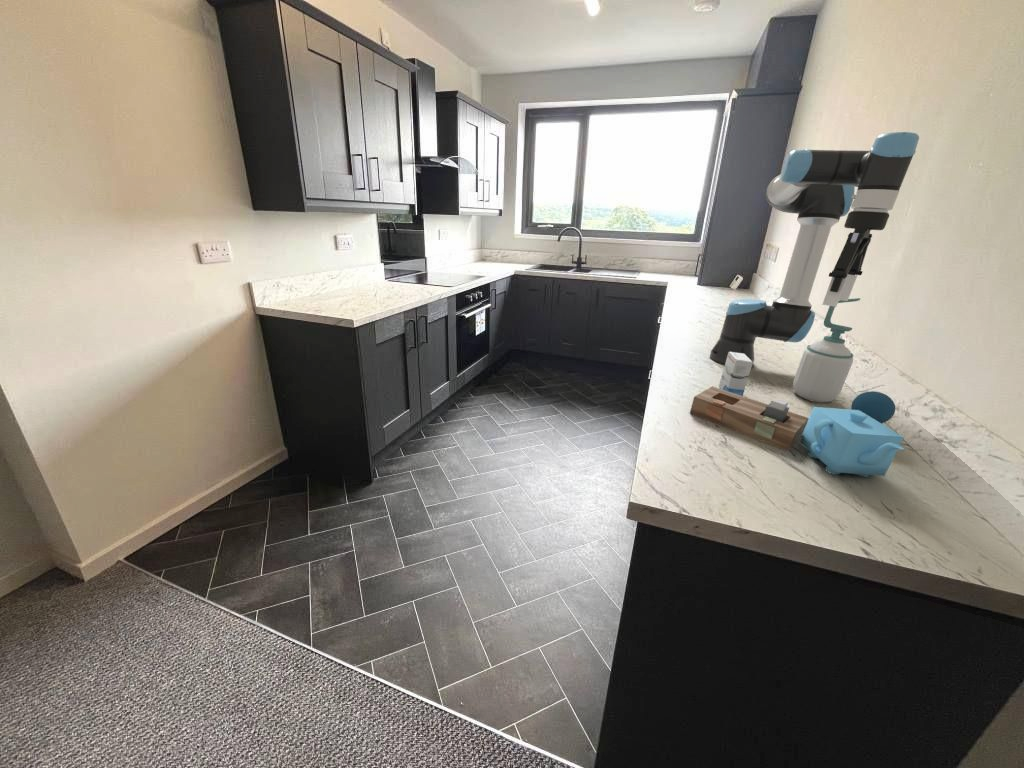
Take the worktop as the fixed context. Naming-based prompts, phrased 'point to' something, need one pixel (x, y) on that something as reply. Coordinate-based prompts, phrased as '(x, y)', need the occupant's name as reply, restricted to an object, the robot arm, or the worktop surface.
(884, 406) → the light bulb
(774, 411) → the plug
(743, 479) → the worktop surface
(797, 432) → the socket block
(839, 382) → the soap bottle
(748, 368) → the ink box
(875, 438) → the teapot
